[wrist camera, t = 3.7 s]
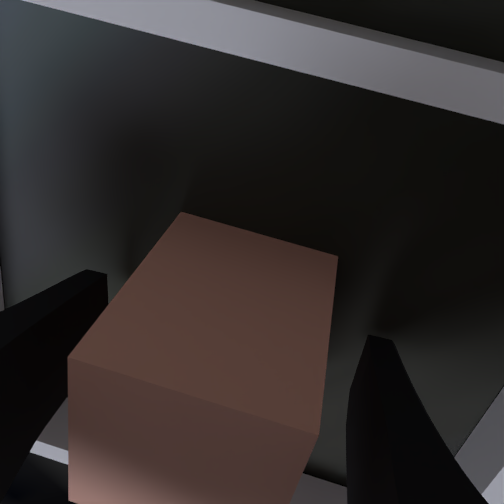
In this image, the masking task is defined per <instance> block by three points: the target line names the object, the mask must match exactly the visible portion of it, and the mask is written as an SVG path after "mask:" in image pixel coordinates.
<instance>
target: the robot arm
mask: <svg viewBox="0 0 504 504" xmlns="http://www.w3.org/2000/svg"><path fill="white" fill-rule="evenodd" d="M107 306H108V287H107V274H105V273H100V272H96V271H92V270H87V269H86V270H84V271H82V272H79V273H77V274H75V275H73V276H71V277H69V278H67V279H65V280H63V281H61V282H60V283H58V284H56V285H54V286H52V287H50V288H48V289H46V290H44V291H42V292H40V293H38V294H36V295H34V296H32V297H30V298H28V299H26V300H24V301H22V302H20V303H18V304H16V305H14V306H11V307H9V308H7V309H5V310H3V311H0V503H1V501H2V500H3V498H4V496H5V494H6V492H7V491H8V489H9V487H10V485H11V483H12V482H13V480H14V478H15V476H16V474H17V473H18V471H19V469H20V467H21V466H22V464H23V462H24V461H25V459H26V457H27V455H28V454H29V452H30V450H31V449H32V447H33V445H34V444H35V442H36V440H37V439H38V437H39V436H40V434H41V433H42V431H43V430H44V428H45V427H46V425H47V424H48V423H49V421H50V420H51V419H52V417H53V416H54V414H55V413H56V412H57V410H58V409H59V408H60V406H61V405H62V403H63V402H64V401H65V399H66V398H67V397H68V356H69V355H70V353H71V352H72V351H73V350H74V348H75V347H76V346H77V344H78V343H79V342H80V341H81V339H82V338H83V337H84V335H85V334H86V333H87V332H88V330H89V329H90V328H91V326H92V325H93V324H94V323H95V321H96V320H97V319H98V317H99V316H100V315H101V314H102V312H103V311H104V310H105V308H106V307H107ZM346 464H347V504H489V503H488V502H487V501H486V500H485V499H484V497H483V496H482V495H481V494H480V492H479V491H478V490H477V489H476V487H475V486H474V485H473V483H472V482H471V481H470V479H469V478H468V477H467V475H466V474H465V472H464V471H463V470H462V468H461V467H460V465H459V464H458V462H457V461H456V460H455V458H454V457H453V455H452V453H451V452H450V450H449V449H448V447H447V446H446V444H445V443H444V441H443V439H442V438H441V436H440V434H439V433H438V431H437V429H436V428H435V426H434V424H433V423H432V421H431V419H430V417H429V415H428V414H427V412H426V410H425V408H424V406H423V404H422V402H421V400H420V398H419V397H418V395H417V393H416V391H415V389H414V387H413V385H412V383H411V381H410V378H409V376H408V374H407V372H406V370H405V368H404V365H403V363H402V361H401V358H400V356H399V354H398V351H397V349H396V346H395V344H394V343H393V341H392V340H389V339H384V338H380V337H376V336H372V335H368V337H367V340H366V343H365V346H364V349H363V352H362V355H361V358H360V361H359V364H358V367H357V370H356V373H355V376H354V379H353V382H352V385H351V388H350V393H349V402H348V412H347V422H346Z"/></svg>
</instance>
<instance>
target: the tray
mask: <svg viewBox="0 0 504 504" xmlns="http://www.w3.org/2000/svg"><path fill="white" fill-rule="evenodd" d="M23 1H27V2H31V3H35V4H39V5H43V6H47V7H50V8H54V9H58V10H62V11H66V12H70V13H74V14H78V15H81V16H85V17H89V18H93V19H97V20H101V21H105V22H109V23H113V24H116V25H120V26H124V27H128V28H132V29H136V30H140V31H144V32H147V33H151V34H155V35H159V36H163V37H167V38H171V39H175V40H178V41H182V42H186V43H190V44H194V45H198V46H202V47H206V48H209V49H213V50H217V51H221V52H225V53H229V54H233V55H237V56H241V57H244V58H248V59H252V60H256V61H260V62H264V63H268V64H272V65H275V66H279V67H283V68H287V69H291V70H295V71H299V72H303V73H306V74H310V75H314V76H318V77H322V78H326V79H330V80H334V81H337V82H341V83H345V84H349V85H353V86H357V87H361V88H365V89H369V90H372V91H376V92H380V93H384V94H388V95H392V96H396V97H400V98H403V99H407V100H411V101H415V102H419V103H423V104H427V105H431V106H434V107H438V108H442V109H446V110H450V111H454V112H458V113H462V114H465V115H469V116H473V117H477V118H481V119H485V120H489V121H493V122H497V123H500V124H504V62H501V61H497V60H493V59H489V58H485V57H481V56H477V55H473V54H469V53H465V52H461V51H457V50H453V49H449V48H445V47H440V46H436V45H432V44H428V43H424V42H420V41H416V40H412V39H408V38H404V37H400V36H396V35H392V34H388V33H384V32H380V31H376V30H372V29H368V28H364V27H360V26H356V25H352V24H348V23H344V22H340V21H336V20H332V19H328V18H324V17H320V16H316V15H312V14H308V13H304V12H300V11H296V10H292V9H287V8H283V7H279V6H275V5H271V4H267V3H263V2H259V1H255V0H23ZM3 310H4V299H3V289H2V278H1V268H0V311H3ZM30 452H32V453H35V454H38V455H41V456H44V457H47V458H50V459H53V460H56V461H59V462H62V463H65V464H68V398H66V399H65V401H64V402H63V403H62V405H61V406H60V408H59V409H58V410H57V412H56V413H55V414H54V416H53V417H52V419H51V420H50V421H49V423H48V424H47V425H46V427H45V428H44V430H43V431H42V433H41V434H40V436H39V437H38V439H37V440H36V442H35V444H34V445H33V447H32V449H31V450H30ZM454 458H455V460H456V461H457V462H458V464H459V465H460V467H461V468H462V470H463V471H464V472H465V474H466V475H467V477H468V478H469V479H470V481H471V482H472V483H473V485H474V486H475V487H476V489H477V490H478V491H479V492H480V494H481V495H482V496H483V497H484V499H485V500H486V501H487V502H488V503H489V504H504V387H503V388H502V390H501V391H500V393H499V394H498V396H497V397H496V399H495V400H494V401H493V403H492V404H491V406H490V407H489V409H488V410H487V411H486V413H485V414H484V416H483V417H482V419H481V420H480V421H479V423H478V424H477V426H476V427H475V429H474V430H473V431H472V433H471V434H470V436H469V437H468V439H467V440H466V441H465V443H464V444H463V446H462V447H461V449H460V450H459V452H458V453H457V454H456V456H455V457H454ZM289 504H347V487H344V486H341V485H338V484H335V483H332V482H328V481H325V480H322V479H319V478H316V477H313V476H310V475H307V474H303V473H302V476H301V478H300V480H299V483H298V485H297V487H296V490H295V492H294V494H293V496H292V499H291V501H290V503H289Z"/></svg>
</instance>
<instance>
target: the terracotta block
mask: <svg viewBox="0 0 504 504" xmlns="http://www.w3.org/2000/svg"><path fill="white" fill-rule="evenodd" d="M337 263H338V256H335V255H332V254H328V253H325V252H321V251H318V250H314V249H311V248H307V247H304V246H300V245H297V244H293V243H290V242H286V241H283V240H279V239H276V238H272V237H269V236H265V235H262V234H258V233H254V232H251V231H247V230H244V229H240V228H237V227H233V226H230V225H226V224H223V223H219V222H216V221H212V220H209V219H205V218H202V217H198V216H195V215H191V214H188V213H184V212H180V214H179V215H178V216H177V217H176V219H175V220H174V221H173V223H172V224H171V225H170V226H169V228H168V229H167V230H166V232H165V233H164V234H163V235H162V237H161V238H160V239H159V240H158V242H157V243H156V244H155V246H154V247H153V248H152V249H151V251H150V252H149V253H148V255H147V256H146V257H145V258H144V260H143V261H142V262H141V264H140V265H139V266H138V267H137V269H136V270H135V271H134V273H133V274H132V275H131V276H130V278H129V279H128V280H127V282H126V283H125V284H124V285H123V287H122V288H121V289H120V291H119V292H118V293H117V294H116V296H115V297H114V298H113V299H112V301H111V302H110V303H109V305H108V306H107V307H106V308H105V310H104V311H103V312H102V314H101V315H100V316H99V317H98V319H97V320H96V321H95V323H94V324H93V325H92V326H91V328H90V329H89V330H88V332H87V333H86V334H85V335H84V337H83V338H82V339H81V341H80V342H79V343H78V344H77V346H76V347H75V348H74V350H73V351H72V352H71V353H70V355H69V356H68V474H69V501H72V502H75V503H78V504H289V503H290V501H291V499H292V496H293V494H294V492H295V490H296V487H297V485H298V483H299V480H300V478H301V476H302V473H303V471H304V469H305V466H306V464H307V462H308V459H309V457H310V455H311V453H312V450H313V448H314V446H315V443H316V441H317V439H318V436H319V430H320V421H321V411H322V402H323V393H324V384H325V374H326V365H327V356H328V346H329V337H330V328H331V319H332V309H333V300H334V291H335V282H336V272H337Z"/></svg>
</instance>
